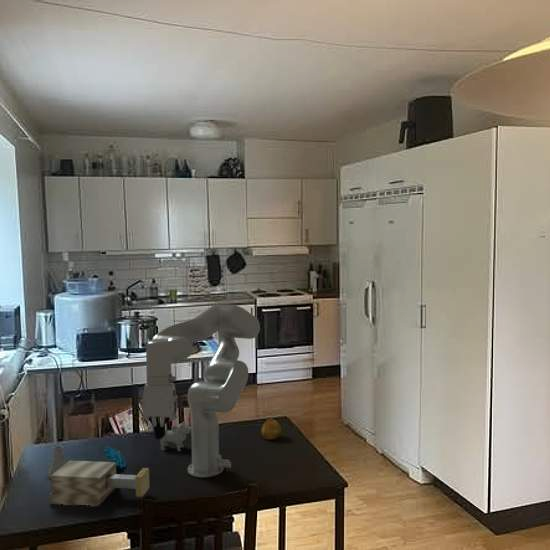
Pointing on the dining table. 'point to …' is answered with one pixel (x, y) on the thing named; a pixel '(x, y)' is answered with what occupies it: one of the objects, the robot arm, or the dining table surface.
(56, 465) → the flask
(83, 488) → the block
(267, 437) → the fruit
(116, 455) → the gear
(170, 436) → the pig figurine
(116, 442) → the dining table surface
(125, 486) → the shaft
